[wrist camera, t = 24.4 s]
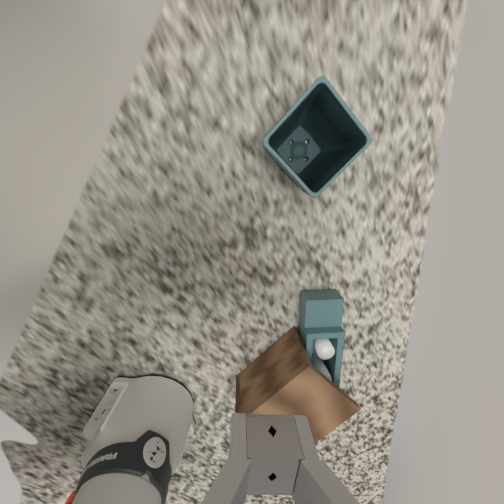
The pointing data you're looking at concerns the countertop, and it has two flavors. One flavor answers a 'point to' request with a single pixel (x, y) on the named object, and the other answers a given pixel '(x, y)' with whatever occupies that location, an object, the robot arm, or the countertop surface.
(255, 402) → the nook
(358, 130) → the flower pot
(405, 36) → the countertop surface
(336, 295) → the tray
